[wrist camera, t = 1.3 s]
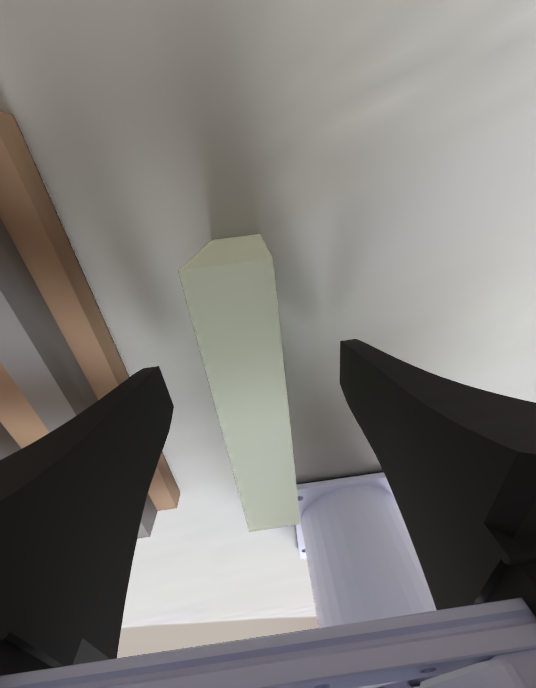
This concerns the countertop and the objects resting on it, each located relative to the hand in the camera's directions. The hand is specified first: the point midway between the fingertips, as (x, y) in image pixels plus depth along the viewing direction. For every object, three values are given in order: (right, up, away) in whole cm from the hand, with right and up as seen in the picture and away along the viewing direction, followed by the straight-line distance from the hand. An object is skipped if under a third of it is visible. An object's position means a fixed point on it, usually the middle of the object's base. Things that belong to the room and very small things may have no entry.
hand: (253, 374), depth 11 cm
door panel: (0, +1, +3) cm, 3 cm away
